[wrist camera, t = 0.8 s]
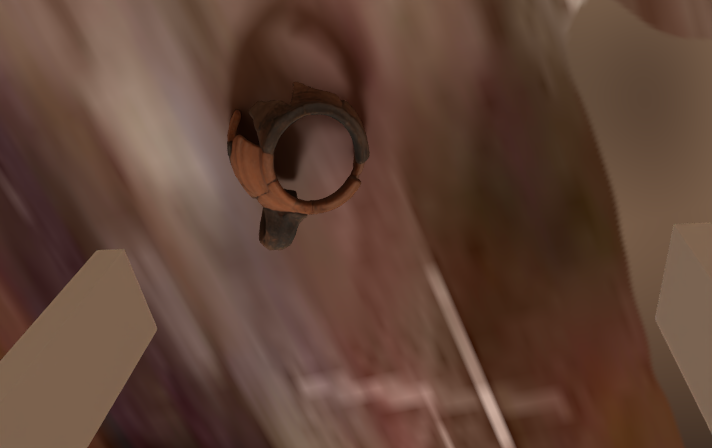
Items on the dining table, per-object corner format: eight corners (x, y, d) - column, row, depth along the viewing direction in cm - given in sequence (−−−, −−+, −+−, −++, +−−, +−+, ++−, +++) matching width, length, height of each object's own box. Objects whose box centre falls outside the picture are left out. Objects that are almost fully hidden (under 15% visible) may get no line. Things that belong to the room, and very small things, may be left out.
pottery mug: (223, 65, 39) (250, 81, 32) (348, 80, 43) (396, 97, 36) (211, 227, 43) (233, 273, 36) (327, 227, 47) (367, 269, 40)
